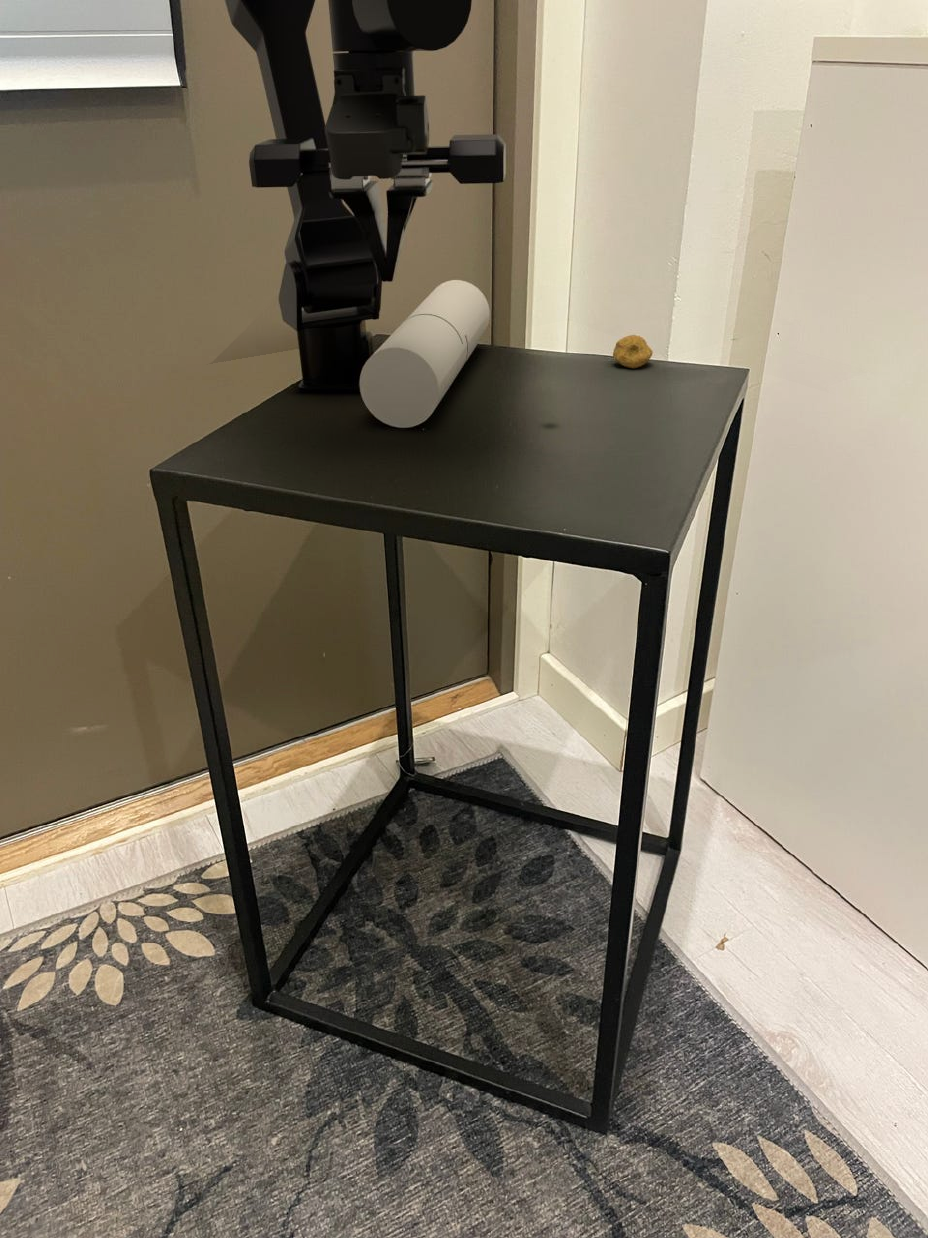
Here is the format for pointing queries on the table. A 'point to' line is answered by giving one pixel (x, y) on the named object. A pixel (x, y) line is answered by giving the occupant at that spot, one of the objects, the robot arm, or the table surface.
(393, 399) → the cylindrical container
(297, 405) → the table surface
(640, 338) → the tan lumpy rounded lump
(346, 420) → the table surface
